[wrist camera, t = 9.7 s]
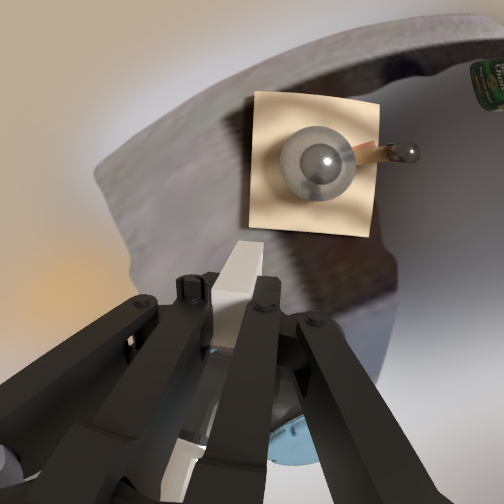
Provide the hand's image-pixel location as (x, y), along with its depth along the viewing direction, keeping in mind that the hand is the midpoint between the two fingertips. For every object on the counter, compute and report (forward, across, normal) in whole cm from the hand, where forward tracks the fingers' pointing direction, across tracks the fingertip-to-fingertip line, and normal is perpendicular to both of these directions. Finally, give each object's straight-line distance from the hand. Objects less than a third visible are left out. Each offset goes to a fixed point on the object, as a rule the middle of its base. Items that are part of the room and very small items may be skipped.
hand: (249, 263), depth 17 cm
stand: (+26, +6, +6) cm, 28 cm away
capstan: (+24, +10, +7) cm, 27 cm away
